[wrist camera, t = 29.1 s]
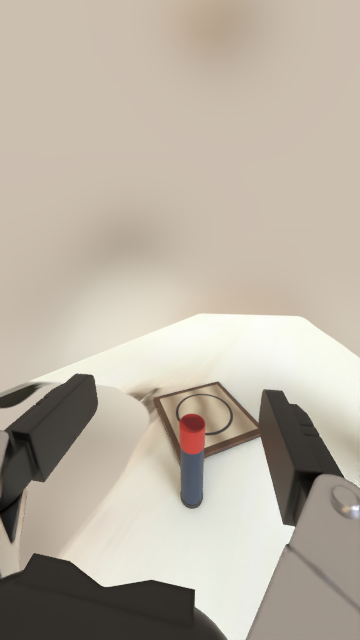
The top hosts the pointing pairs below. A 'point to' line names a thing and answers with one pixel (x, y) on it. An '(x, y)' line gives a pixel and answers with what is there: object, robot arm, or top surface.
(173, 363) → the top surface
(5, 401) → the top surface
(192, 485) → the marker
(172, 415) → the sketch board
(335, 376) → the top surface
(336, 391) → the top surface
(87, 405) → the robot arm
